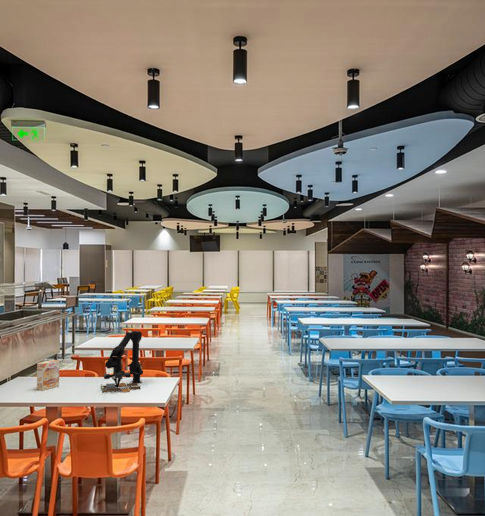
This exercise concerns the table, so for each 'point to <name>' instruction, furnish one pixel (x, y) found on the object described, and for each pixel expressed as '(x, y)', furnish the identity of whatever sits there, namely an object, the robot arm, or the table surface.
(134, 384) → the finger box
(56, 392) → the table surface
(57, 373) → the coffeecake box
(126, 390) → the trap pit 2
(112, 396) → the table surface
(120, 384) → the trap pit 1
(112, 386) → the slate block
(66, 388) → the table surface
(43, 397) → the table surface
